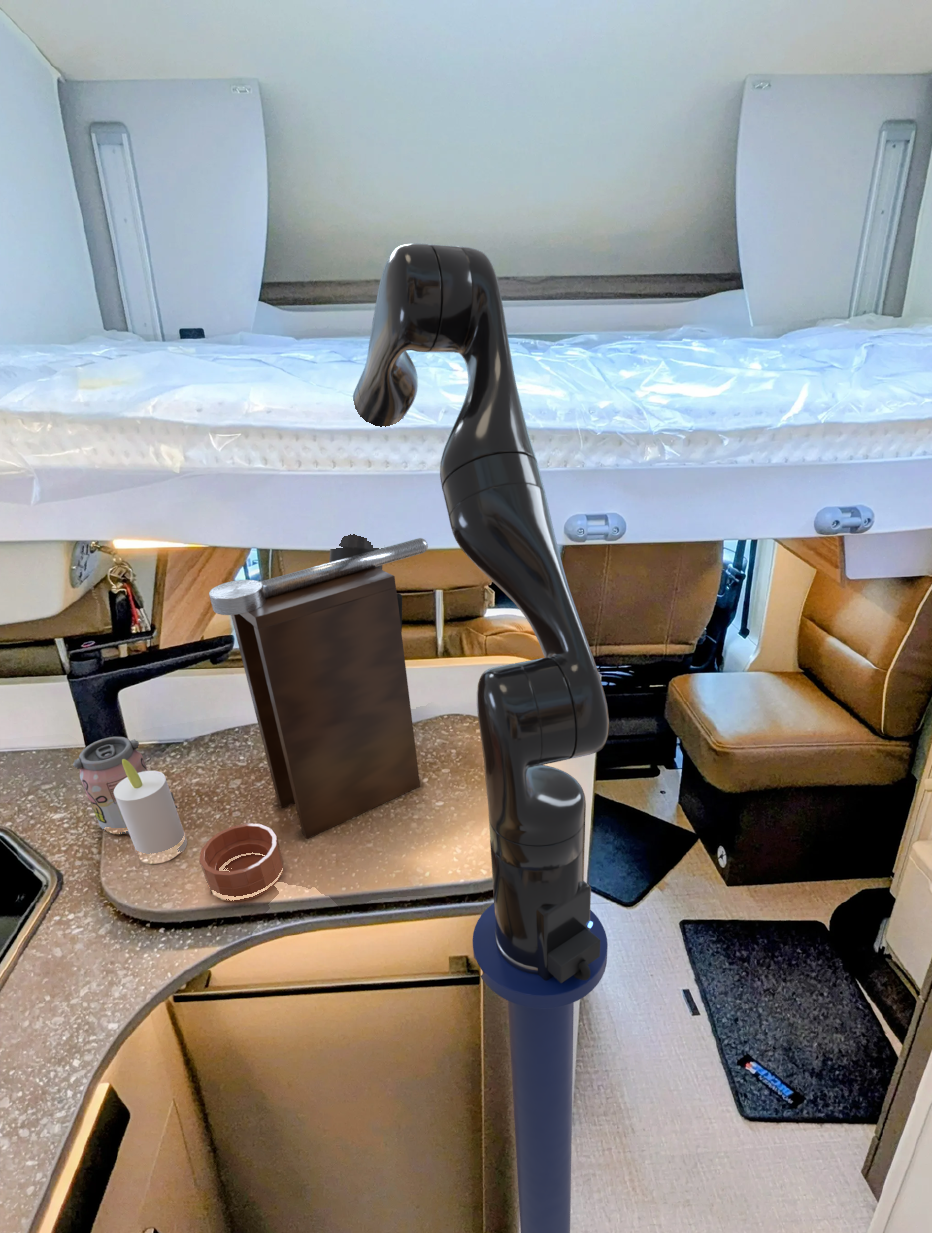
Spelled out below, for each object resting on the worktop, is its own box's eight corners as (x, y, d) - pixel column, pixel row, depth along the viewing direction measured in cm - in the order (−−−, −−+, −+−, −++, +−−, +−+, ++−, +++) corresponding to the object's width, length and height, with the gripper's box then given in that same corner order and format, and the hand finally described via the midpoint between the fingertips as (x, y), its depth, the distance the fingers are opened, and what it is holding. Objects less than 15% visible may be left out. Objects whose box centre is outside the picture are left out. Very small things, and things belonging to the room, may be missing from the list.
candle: (198, 842, 95) (167, 749, 88) (155, 871, 91) (119, 776, 83) (170, 826, 99) (139, 736, 91) (128, 853, 94) (91, 761, 87)
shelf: (386, 756, 110) (356, 557, 94) (420, 786, 102) (394, 575, 86) (277, 803, 101) (225, 593, 85) (306, 839, 94) (255, 617, 78)
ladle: (415, 546, 96) (413, 532, 95) (439, 556, 92) (438, 541, 91) (206, 605, 83) (202, 589, 82) (223, 619, 78) (218, 603, 77)
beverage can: (94, 813, 103) (65, 744, 97) (153, 790, 107) (128, 723, 101) (106, 846, 96) (76, 774, 90) (169, 821, 100) (144, 750, 94)
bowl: (296, 882, 87) (288, 851, 85) (224, 917, 83) (213, 886, 80) (268, 843, 94) (260, 813, 91) (200, 874, 90) (190, 844, 87)
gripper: (305, 539, 95) (297, 659, 97) (409, 550, 98) (400, 667, 99) (306, 546, 103) (299, 657, 104) (404, 556, 105) (395, 665, 107)
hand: (349, 662), depth 102 cm, fingers open, 8 cm apart
